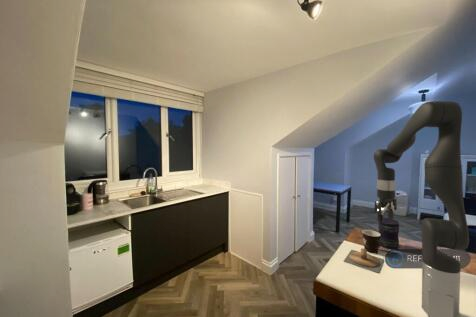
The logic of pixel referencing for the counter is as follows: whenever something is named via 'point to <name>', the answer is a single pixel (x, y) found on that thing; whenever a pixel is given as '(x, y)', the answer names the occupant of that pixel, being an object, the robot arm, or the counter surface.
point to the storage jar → (389, 233)
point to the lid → (364, 259)
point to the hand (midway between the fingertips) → (385, 219)
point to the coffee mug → (371, 240)
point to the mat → (374, 269)
